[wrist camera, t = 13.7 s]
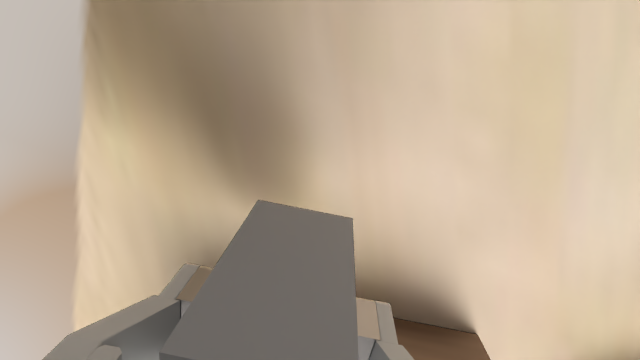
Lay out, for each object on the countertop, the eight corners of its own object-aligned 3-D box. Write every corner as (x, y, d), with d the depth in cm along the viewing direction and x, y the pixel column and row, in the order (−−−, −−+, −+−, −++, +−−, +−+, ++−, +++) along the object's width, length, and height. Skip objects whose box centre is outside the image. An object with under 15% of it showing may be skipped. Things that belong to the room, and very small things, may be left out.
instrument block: (258, 199, 12) (93, 452, 4) (352, 218, 12) (365, 508, 4) (250, 275, 14) (116, 568, 6) (333, 292, 14) (317, 610, 6)
